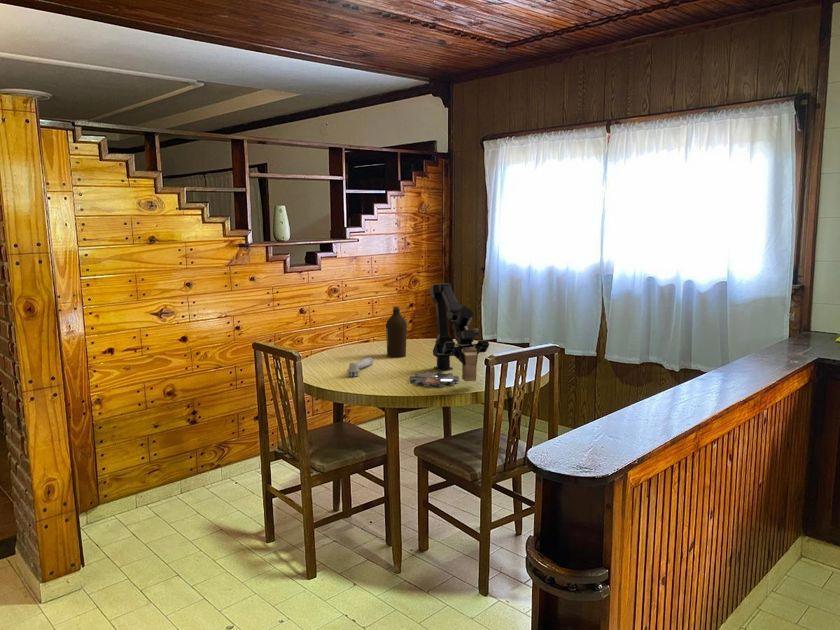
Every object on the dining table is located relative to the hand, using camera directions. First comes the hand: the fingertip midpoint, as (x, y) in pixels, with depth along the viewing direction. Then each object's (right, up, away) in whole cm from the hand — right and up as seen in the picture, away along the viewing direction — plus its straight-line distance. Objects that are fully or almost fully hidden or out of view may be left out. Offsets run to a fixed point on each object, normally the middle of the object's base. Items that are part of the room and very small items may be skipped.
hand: (470, 364), depth 251 cm
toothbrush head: (-47, -6, +31) cm, 57 cm away
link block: (0, -6, +2) cm, 7 cm away
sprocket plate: (-14, -8, +13) cm, 21 cm away
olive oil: (-32, -1, +62) cm, 70 cm away
